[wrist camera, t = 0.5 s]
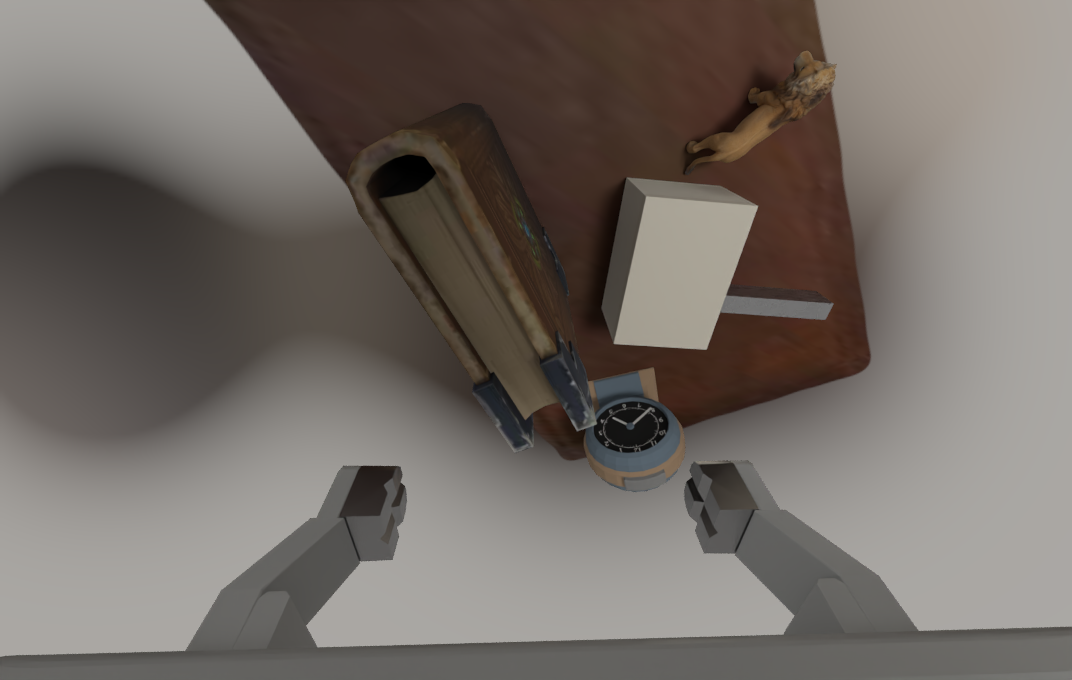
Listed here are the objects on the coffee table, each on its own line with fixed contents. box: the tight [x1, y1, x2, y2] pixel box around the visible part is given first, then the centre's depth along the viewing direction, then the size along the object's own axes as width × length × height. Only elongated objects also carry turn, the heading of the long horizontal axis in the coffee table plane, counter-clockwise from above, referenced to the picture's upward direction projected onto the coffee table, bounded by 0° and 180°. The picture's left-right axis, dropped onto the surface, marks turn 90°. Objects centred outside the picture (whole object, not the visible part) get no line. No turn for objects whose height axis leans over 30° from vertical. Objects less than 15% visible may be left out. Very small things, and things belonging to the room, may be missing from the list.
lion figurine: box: [685, 51, 837, 175], centre depth 45 cm, size 15×5×9 cm, turn 140°
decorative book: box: [345, 103, 597, 453], centre depth 40 cm, size 24×7×30 cm, turn 25°
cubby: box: [601, 178, 758, 350], centre depth 53 cm, size 18×12×10 cm, turn 175°
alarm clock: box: [584, 367, 685, 492], centre depth 63 cm, size 14×10×18 cm
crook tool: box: [720, 284, 833, 320], centre depth 58 cm, size 8×18×4 cm, turn 85°
